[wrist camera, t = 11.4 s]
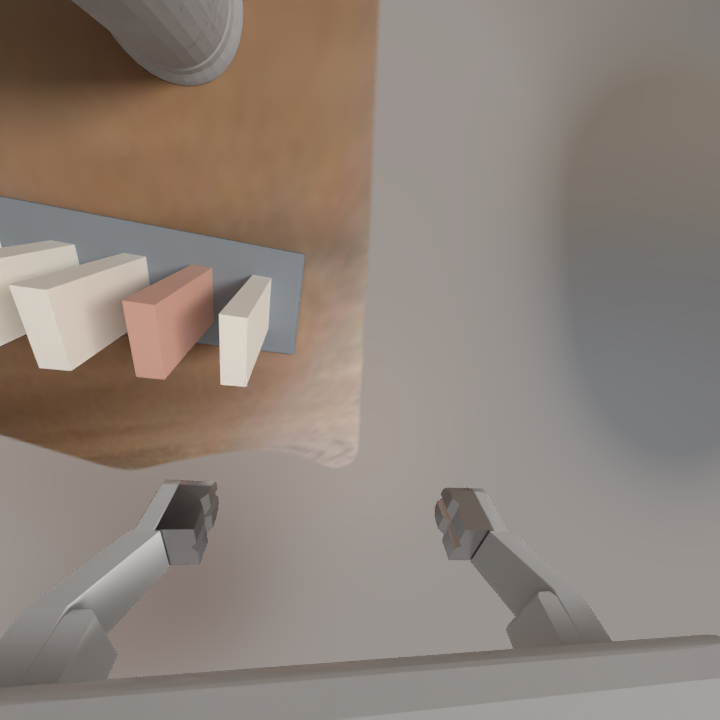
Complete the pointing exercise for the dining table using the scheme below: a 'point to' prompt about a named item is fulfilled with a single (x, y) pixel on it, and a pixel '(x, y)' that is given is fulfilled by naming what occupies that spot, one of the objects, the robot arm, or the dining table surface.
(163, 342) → the domino
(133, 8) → the grey mug
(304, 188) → the dining table surface
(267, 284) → the domino
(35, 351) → the domino
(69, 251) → the domino
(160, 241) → the mat
